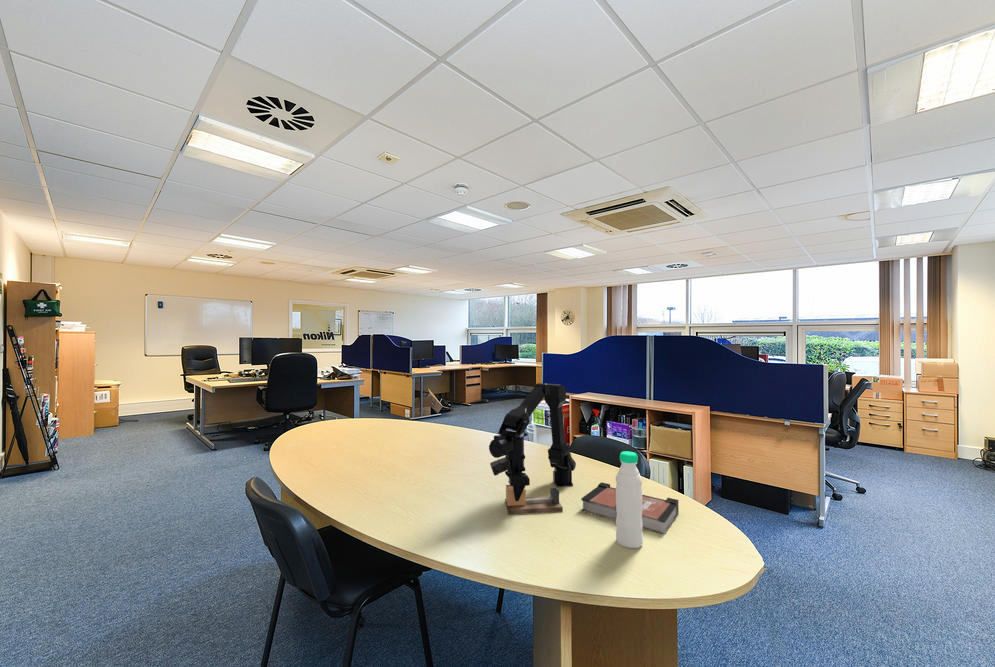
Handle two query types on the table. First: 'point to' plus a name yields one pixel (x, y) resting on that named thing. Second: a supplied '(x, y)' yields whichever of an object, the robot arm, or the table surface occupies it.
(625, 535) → the water bottle
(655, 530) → the book
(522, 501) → the block
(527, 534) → the table surface
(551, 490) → the guide rail
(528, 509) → the board
